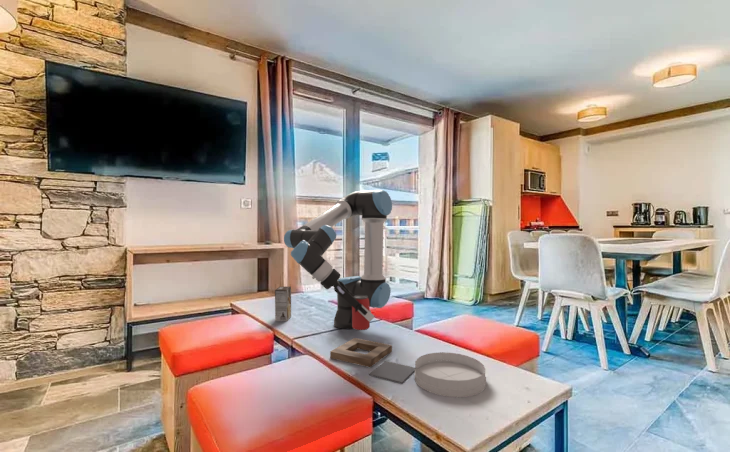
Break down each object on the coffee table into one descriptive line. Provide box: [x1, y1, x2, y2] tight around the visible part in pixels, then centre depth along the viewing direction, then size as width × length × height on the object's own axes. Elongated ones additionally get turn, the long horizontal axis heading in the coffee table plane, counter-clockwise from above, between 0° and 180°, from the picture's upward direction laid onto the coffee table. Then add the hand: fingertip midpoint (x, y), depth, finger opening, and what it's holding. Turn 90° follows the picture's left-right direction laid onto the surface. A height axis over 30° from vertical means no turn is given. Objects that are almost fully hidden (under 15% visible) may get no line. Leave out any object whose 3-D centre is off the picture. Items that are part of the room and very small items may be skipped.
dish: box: [414, 352, 487, 398], centre depth 113 cm, size 22×22×5 cm
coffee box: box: [274, 285, 292, 322], centre depth 183 cm, size 9×6×16 cm
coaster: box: [368, 360, 415, 384], centre depth 119 cm, size 12×12×1 cm
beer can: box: [352, 295, 371, 331], centre depth 134 cm, size 7×7×12 cm
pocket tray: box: [329, 337, 393, 368], centre depth 134 cm, size 17×17×2 cm
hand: (370, 316), depth 134 cm, fingers closed on beer can, 7 cm apart
